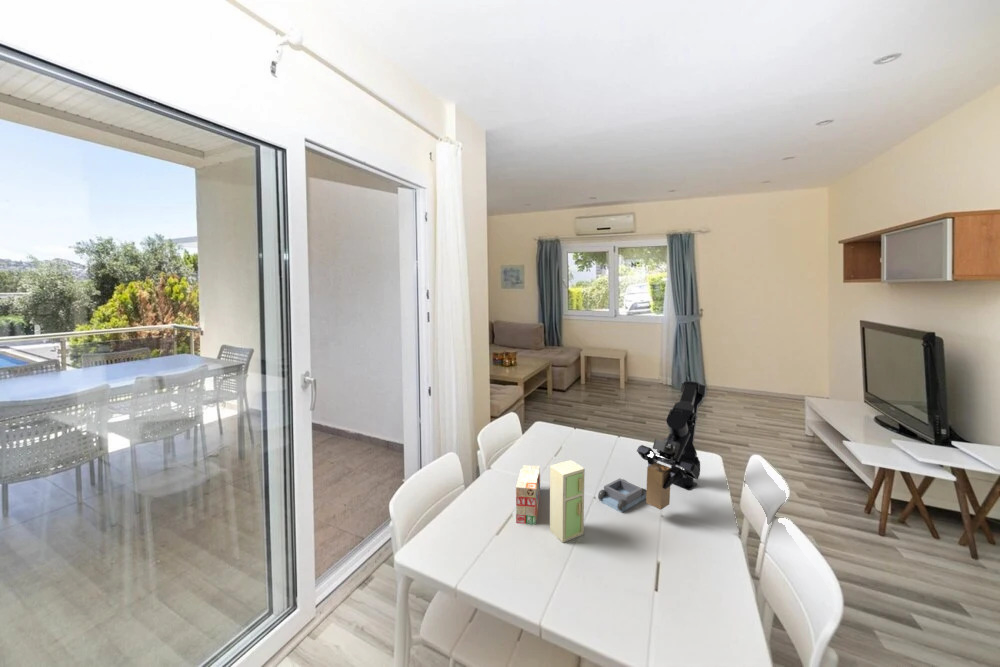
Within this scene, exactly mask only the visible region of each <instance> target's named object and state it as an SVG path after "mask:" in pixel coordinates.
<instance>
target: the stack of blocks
mask: <svg viewBox="0 0 1000 667" xmlns="http://www.w3.org/2000/svg"><path fill="white" fill-rule="evenodd" d="M515 491H516V492H515V504H516V505H515V506H516V510H515V522H516V524H524V525H536V523H537V519H538V512H539V500H540V495H541V494H540V493H541V466H540V465H525V464H523V465H522V468H520V471H519V476H518V479H517V482H516V486H515Z"/></svg>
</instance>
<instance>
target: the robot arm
mask: <svg viewBox="0 0 1000 667" xmlns="http://www.w3.org/2000/svg"><path fill="white" fill-rule="evenodd" d="M680 387H681V388H680V394H681V396H680V399H679V401H678V402H677V403H674V404H673V405H672V409H670V410H669V412H668V415H667V418H666V425H667V429H668V436H667V438H664V439H662V440H660V439H657V438H654V442H653V445H652V447H649V446H646V445H643V444H641V445H639V446H638V448H637V450H636V452H637V454H638V455H639V456H640V457H641V459H643V460H645V461H647V467H648V466H650V465H652V464H654V463H658V462H661V463H663V464H666V465H668V466H670V468H671V472H670V474H669V476H668V477H667V479H666V481H665V484H664V486H663V488H664V489H667V488H668V487H669V486H670V487H671V486H672V485H675V486H678V487H680V488H683V489H684V490H688V491H690V490H691V489H693V488H695V487H696V486H697V485H698V483H697V482H695V481H696V480H699V477H700V475H701V461H700V460H699V456H698V453H697V450H696V447H695V445H694V442H695V436H696V428H697V427H696V426H697V421H698V412H699V411H698V410H699V408H700V407H701V406H702V404H704V400H705V398H706V397H707V387H706V385H703V384H701V383H699V382H698V381H693V380H692V381H691V380H684V381H683V382H682V383H681V386H680ZM655 450H656V452H657V453H656V452H654V451H655ZM658 453H659V454H658ZM694 480H695V481H694Z"/></svg>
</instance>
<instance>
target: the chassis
mask: <svg viewBox="0 0 1000 667" xmlns="http://www.w3.org/2000/svg"><path fill="white" fill-rule="evenodd" d="M646 491H647V488H643V487H640V486H638V485H636V484H634V483H631V482H629V481H628V480H626V479H624V478H621V477H620V478H618V479H617V478H616V480H613V481H611V482H610V483H608V484H606V485H604V486H603V489H600V491H599V492H598V495H597V499H598V502H601V503H602V504H605V505H606V506H608V507H610V508H612V509H614V510H616V511H617V512H620V513H623V512H625V511H627V510H628V509H630V508H632V507H633V506H635V505H637V504H638V503H640V502H641V501H643V500H646Z"/></svg>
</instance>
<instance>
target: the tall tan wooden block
mask: <svg viewBox="0 0 1000 667" xmlns="http://www.w3.org/2000/svg"><path fill="white" fill-rule="evenodd" d="M646 468H647V470H646V473H647V474H646V490H647V491H646V498H645V503H646V504H647V505H650V506H652V507H654V508H656V509H658V510H660V511H662V510H663V509H665V508H666V507H668V506H669V505H670V498H671V486H669V487H668V488H667V489H664V488H663V486H664V484H665V481H666V479H667V477H668V476H669V474H670V472H671V466H666V465H664V464H661V463H659V462H657V463H654V464H652V465H650V466H648V465H647V466H646Z"/></svg>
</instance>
